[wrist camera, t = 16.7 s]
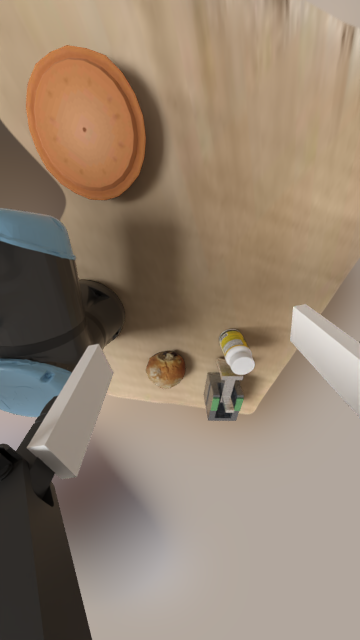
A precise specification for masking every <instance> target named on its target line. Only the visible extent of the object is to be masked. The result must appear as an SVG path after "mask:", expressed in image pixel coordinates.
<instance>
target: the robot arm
mask: <svg viewBox="0 0 360 640" xmlns="http://www.w3.org/2000/svg"><path fill="white" fill-rule="evenodd" d="M75 260H76V257H75V255H74V254H73V251H72V248H71V244H70V240H69V236H68V232H67V230H66V228H65V226H64V225H63V224H62V223H61V222H60V221H59V220H58V219H56V218H55V217H52V216H50V215H44V214H39V213H32V212H26V211H19V210H12V209H5V208H0V409H1V410H3V411H7V412H10V413H13V414H16V415H21V416H28V417H38V418H37V419H36V421H35V424H33V426H32V427H31V429H30V430H29V432H28V433H27V435H26V436H25V438H24V440H23V441H22V443H21V444H20V446H19V447H18V449H17V451H15V450H13V449H12V448H11V447H10V446H9V445H7V444H0V640H92V638H91V633H90V629H89V626H88V621H87V617H86V613H85V609H84V605H83V601H82V597H81V593H80V589H79V585H78V580H77V576H76V572H75V568H74V564H73V560H72V556H71V552H70V548H69V544H68V540H67V536H66V532H65V528H64V524H63V520H62V515H61V511H60V507H59V503H58V499H57V495H56V491H55V487H54V485H53V483H52V482H51V480H52V478H53V476H54V474H56V475H57V476H58V477H59V478H60V479H66V478H72V477H77V475H78V472H79V469H80V466H81V463H82V461H83V458H84V455H85V452H86V449H87V446H88V444H89V441H90V438H91V435H92V432H93V429H94V427H95V424H96V421H97V418H98V415H99V412H100V410H101V406H102V404H103V401H104V398H105V396H106V393H107V390H108V387H109V384H110V381H111V379H112V376H113V373H114V372H113V371H112V369H111V367H110V365H109V363H108V361H107V359H106V357H105V355H104V353H103V351H102V350H103V348H104V347H105V346H106V345H107V344H109V343H110V342H111V341H113V340H114V339H115V338H116V337H117V336H118V335H119V333H120V332H121V330H122V327H123V325H124V321H125V311H124V307H123V305H122V303H121V301H120V299H119V298H118V297H117V295H116V294H115V293H114V292H113V291H111V290H110V289H109V288H107V287H106V286H104V285H102V284H100V283H97V282H94V281H90V280H79V279H78V274H77V268H76V263H75ZM290 341H291V342H292V343H293V344H294V345H295V347H296V348H297V349H298V350H299V351H300V352H301V353H302V354H303V355H304V357H305V358H306V359H307V360H308V361H309V362H310V363H311V364H312V365H313V367H314V368H315V369H316V370H317V371H318V372H319V373H320V374H321V376H322V377H323V378H324V379H325V380H326V381H327V382H328V383H329V385H330V386H332V388H333V389H334V390H335V391H336V392H337V393H338V394H339V396H340V397H341V398H342V399H343V400H344V401H345V402H346V403H347V405H348V406H349V407H350V408H351V409H352V410H353V411H354V412H355V414H356V415H357V416H358V417H359V418H360V342H358V341H357V340H355V339H354V338H352V337H351V336H349V335H348V334H347V333H345V332H344V331H343V330H341V329H340V328H338V327H337V326H335V325H334V324H333V323H331V322H330V321H329V320H327V319H326V318H324V317H323V316H321V315H320V314H319V313H317V312H316V311H315V310H313V309H312V308H310V307H309V306H308V305H306V304H303V305H298V306H293V316H292V327H291V337H290Z"/></svg>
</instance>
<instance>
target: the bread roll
mask: <svg viewBox="0 0 360 640" xmlns="http://www.w3.org/2000/svg"><path fill="white" fill-rule="evenodd" d="M146 372H147V374H148V377H149V379H150V380H151V381H152V382H153V383H154V384H155V385H157V386H158V387H160V388H164V389H167V388H171V387H173V386H175V385H177V384H178V383H179V382H180V381H181V380H182V379H183V377H184V374H185V362H184V360H183V358H182V357H181V356H179V355H178V354H177V353H176V352H171V351H166V352H161V353H158V354H156V355H154V356H152V357H151V358H150V359H149V362H148V365H147V368H146Z"/></svg>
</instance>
